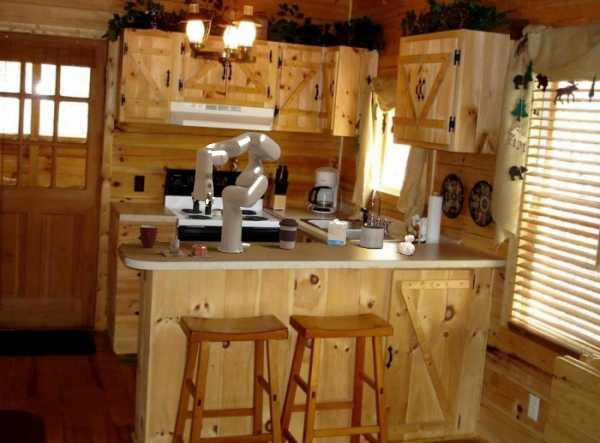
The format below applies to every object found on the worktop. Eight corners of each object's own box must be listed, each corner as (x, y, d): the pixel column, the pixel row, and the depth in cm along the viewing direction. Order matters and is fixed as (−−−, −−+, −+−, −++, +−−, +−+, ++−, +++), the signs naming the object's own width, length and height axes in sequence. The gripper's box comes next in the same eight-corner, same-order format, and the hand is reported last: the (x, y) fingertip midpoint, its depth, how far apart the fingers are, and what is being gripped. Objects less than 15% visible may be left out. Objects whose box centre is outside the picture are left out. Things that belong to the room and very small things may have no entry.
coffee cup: (274, 248, 414) (276, 219, 412) (281, 245, 424) (283, 217, 422) (292, 250, 411) (294, 221, 409) (299, 248, 420) (301, 219, 418)
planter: (376, 250, 433) (378, 229, 431) (355, 246, 439) (357, 226, 437) (386, 247, 444) (388, 227, 442) (365, 244, 450) (367, 224, 448)
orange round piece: (209, 255, 378) (209, 245, 377) (197, 256, 373) (197, 246, 373) (201, 253, 383) (201, 243, 382) (188, 254, 378) (189, 244, 378)
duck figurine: (413, 260, 422) (425, 243, 424) (405, 252, 418) (417, 234, 421) (399, 256, 432) (410, 239, 434) (390, 248, 428) (402, 231, 431)
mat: (204, 254, 383) (204, 253, 383) (210, 257, 376) (210, 256, 376) (188, 254, 380) (188, 253, 380) (193, 257, 373) (193, 256, 373)
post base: (181, 252, 383) (182, 238, 382) (188, 256, 374) (188, 241, 373) (160, 253, 378) (161, 238, 377) (166, 257, 369) (167, 241, 368)
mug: (158, 249, 386) (159, 228, 385) (141, 249, 384) (142, 228, 382) (155, 245, 396) (156, 225, 395) (138, 245, 393) (139, 225, 392)
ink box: (342, 246, 438) (344, 221, 436) (326, 244, 440) (328, 219, 438) (345, 244, 446) (347, 219, 444) (330, 242, 448) (332, 218, 447)
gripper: (221, 178, 369) (219, 215, 372) (200, 174, 382) (198, 210, 384) (207, 178, 364) (205, 216, 367) (186, 174, 377) (184, 210, 380)
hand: (201, 213), depth 376 cm, fingers open, 9 cm apart
